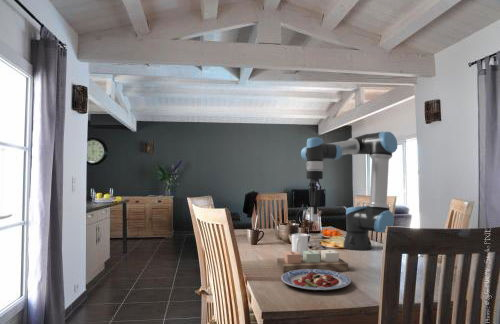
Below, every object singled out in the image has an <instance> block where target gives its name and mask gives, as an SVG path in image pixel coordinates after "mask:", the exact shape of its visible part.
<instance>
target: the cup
mask: <svg viewBox="0 0 500 324" xmlns="http://www.w3.org/2000/svg"><path fill="white" fill-rule="evenodd" d="M293 251H298V252H299V253H300V254H301V257H303V251H309V235H308V234H307V233H293V234H291V252H293Z"/></svg>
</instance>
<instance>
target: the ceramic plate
mask: <svg viewBox="0 0 500 324" xmlns="http://www.w3.org/2000/svg"><path fill="white" fill-rule="evenodd" d="M280 279H281V281H282V282H283V283H285V284H287V285H288V286H290V287H295V288H299V289H301V290H302V289H304V290H307V291H308V290H309V291H317V290H323V291H330V290H336V289H341V288H344V287H345V288H346V287H347V286H349V285H350V284H351V282H352V280H351V278H350V277H349V276H348V275H346V274H344V273H342V272H339V271H329V270H321V269H301V270H294V271H290V272H287V273H283V274H282V275H281V278H280Z"/></svg>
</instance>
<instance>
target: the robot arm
mask: <svg viewBox="0 0 500 324" xmlns="http://www.w3.org/2000/svg"><path fill="white" fill-rule="evenodd" d="M397 149H398V140H397V138H396V136H395V135H394V133H392V132H391V131H379V132H374V133H365V134H362V135H359V136H355V137H350V138H348V139H347V140H342V141H336V142H331V143H330V142H329V143H324V140H323V138H321V137H309V138H307V140H306V146H304V147H303V148H301V151H300V156H301V158H302V161H303V160H304V161H305V162H306V163H305V166H306V170H307V171H306V179H308V180H310V181H309V183H308V194H309V195H308V196H309V197H308V199H309V205H310V207H311V209H310V210H311V211H310V213H311V214H310V215H311V217H310V219H311V220H310V221H311V222H319V207H320V205H321V204H320V203H321V193H322V191H321V190H322V185H321V183H320V180H322V179H323V177H324V175H323V174H324V173H323V169H324V160H334V161H335V160H339V159H340V158H342V156H346V155H353V156H354V155H368V156H369V157H370V158H371V173H370V174H371V176H370V187H369V188H370V190H369V191H370V192H369V193H370V194H369V203H368V204H367V205H365V206H362V205H361V206H351V207H347V208H346V209H345V224H346V225H345V226H346V232H345V237H344V240H343V248H344V249H348V250H352V251H353V250H354V251H366V250H371V249H372V247H373V246H372V242H371V239H370V237H369V232H370V231H371V232H373V233H374V232H375V233H384V234H385V233H386V232H385V229H386V226H392V227H393V226H394V223H395V216H394V214H393V212H392V211H391V210H390V206H389V205H388V185H389V184H388V183H389V167H390V166H389V163H390V159H392V157H393V153H395V152H396V151H397Z"/></svg>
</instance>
